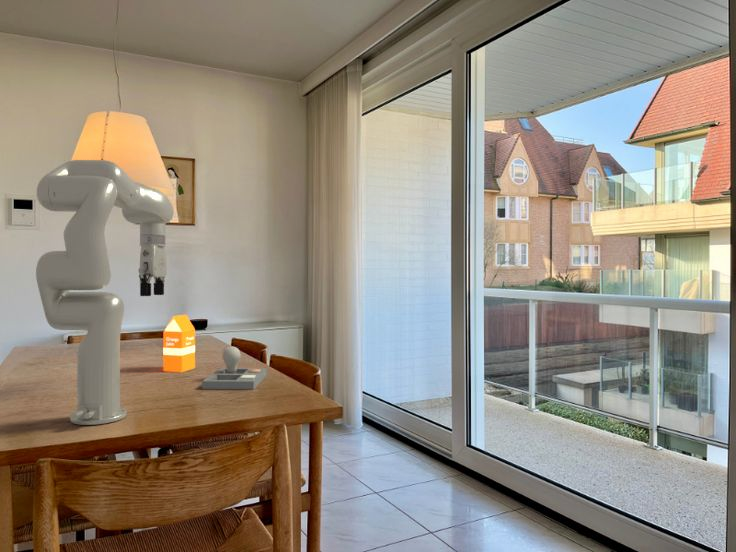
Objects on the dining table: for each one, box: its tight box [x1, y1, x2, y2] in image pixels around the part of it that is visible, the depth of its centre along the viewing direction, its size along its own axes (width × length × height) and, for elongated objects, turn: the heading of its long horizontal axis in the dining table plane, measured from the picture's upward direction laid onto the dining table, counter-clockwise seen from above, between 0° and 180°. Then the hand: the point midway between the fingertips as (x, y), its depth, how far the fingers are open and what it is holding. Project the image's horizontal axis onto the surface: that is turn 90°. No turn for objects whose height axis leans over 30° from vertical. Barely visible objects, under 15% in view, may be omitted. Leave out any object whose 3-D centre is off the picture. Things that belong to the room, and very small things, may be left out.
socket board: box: [201, 367, 268, 391], centre depth 177 cm, size 22×16×3 cm
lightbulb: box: [221, 345, 242, 374], centre depth 181 cm, size 6×6×11 cm
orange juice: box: [162, 314, 196, 373], centre depth 197 cm, size 8×9×20 cm
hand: (152, 295), depth 170 cm, fingers open, 9 cm apart
